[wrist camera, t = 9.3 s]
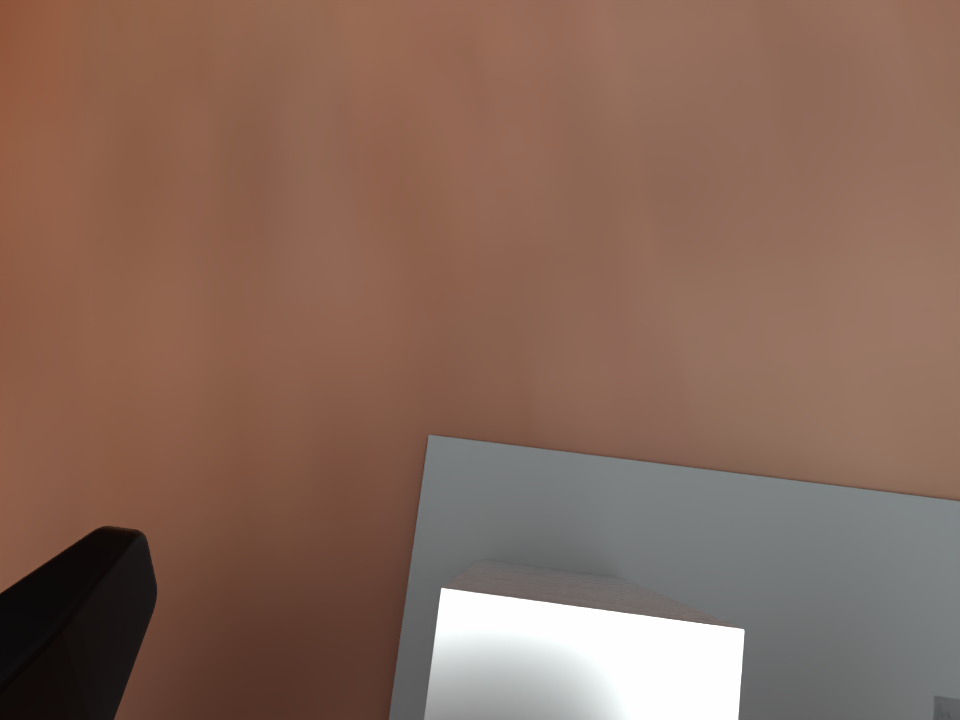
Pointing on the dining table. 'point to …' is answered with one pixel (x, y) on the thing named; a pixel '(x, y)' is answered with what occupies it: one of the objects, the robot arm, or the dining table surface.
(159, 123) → the dining table surface
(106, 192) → the dining table surface
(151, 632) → the dining table surface
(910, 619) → the pull board
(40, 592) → the robot arm
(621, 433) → the dining table surface
